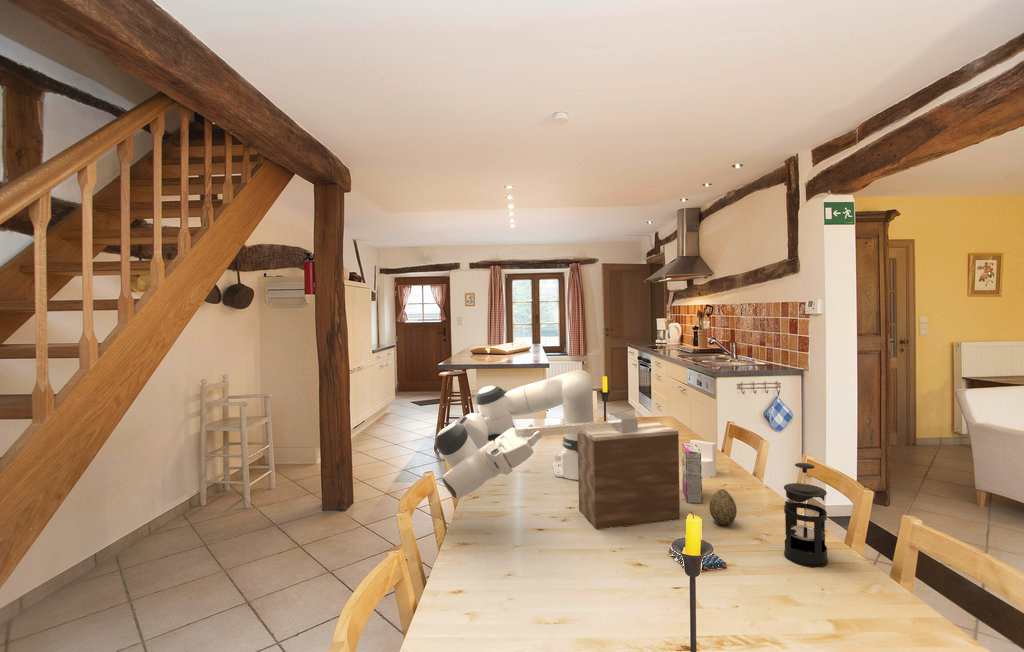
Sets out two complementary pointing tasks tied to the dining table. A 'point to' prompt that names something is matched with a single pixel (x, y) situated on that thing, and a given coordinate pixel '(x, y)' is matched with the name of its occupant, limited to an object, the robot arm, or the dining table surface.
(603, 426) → the bar
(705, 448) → the base with upright slab
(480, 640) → the dining table surface
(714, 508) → the decorative egg
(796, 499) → the french press
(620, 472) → the dark wood block
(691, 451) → the candy bar box
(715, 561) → the woven mat
